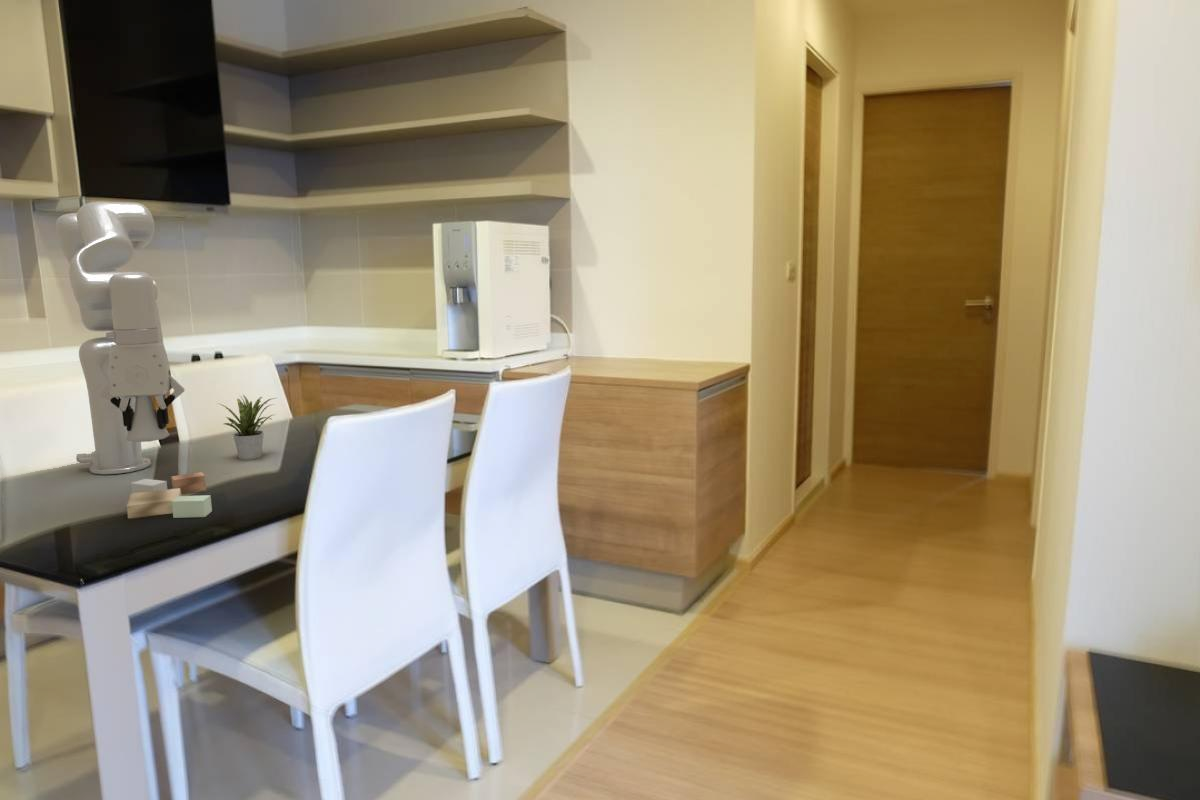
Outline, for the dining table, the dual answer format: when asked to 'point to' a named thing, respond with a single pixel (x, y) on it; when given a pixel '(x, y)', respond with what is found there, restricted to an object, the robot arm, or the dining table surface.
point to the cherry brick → (189, 482)
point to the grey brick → (148, 485)
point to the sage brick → (191, 506)
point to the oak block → (151, 503)
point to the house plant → (248, 429)
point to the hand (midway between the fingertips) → (147, 427)
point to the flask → (145, 422)
